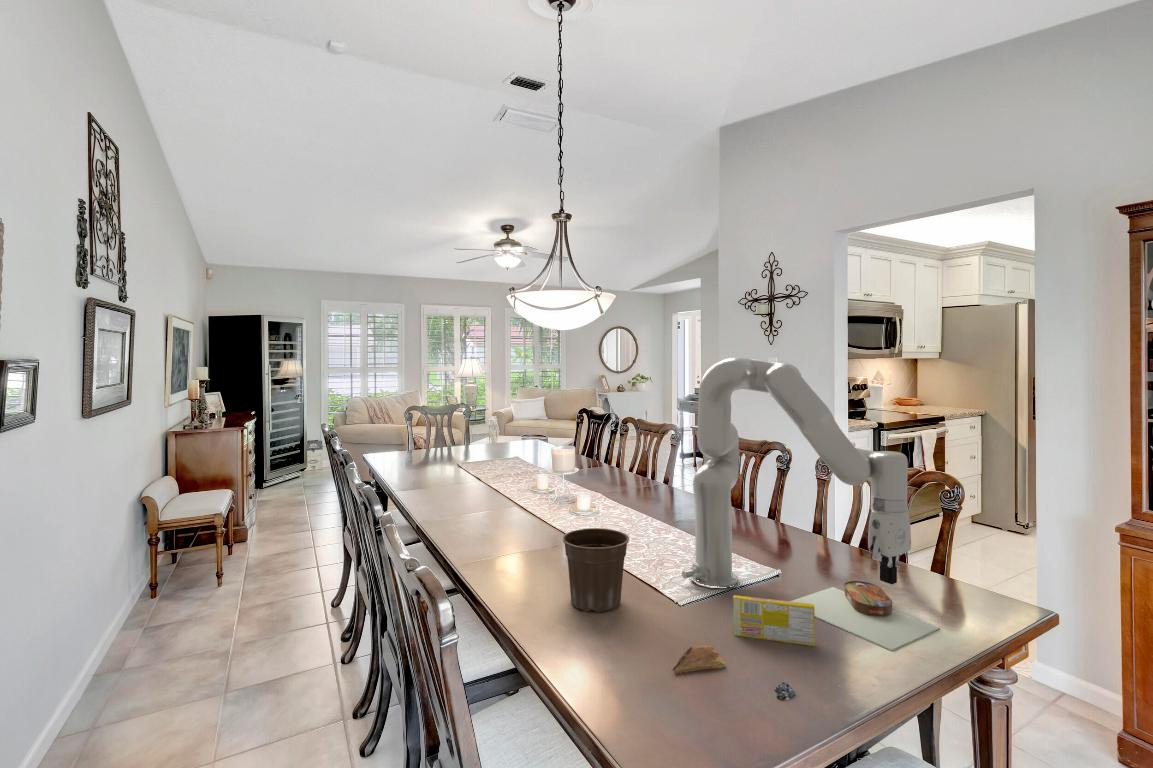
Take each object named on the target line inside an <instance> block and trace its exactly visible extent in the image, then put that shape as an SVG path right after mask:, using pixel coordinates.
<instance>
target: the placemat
mask: <svg viewBox="0 0 1153 768" xmlns="http://www.w3.org/2000/svg"><path fill="white" fill-rule="evenodd" d="M790 602H799V603H808V604H814V606H815V618H816V619H818V620H821V621H823V622H824V623H828V624H830V625H831V626H834V627H836V628H838V627H839V628H838V629H841V630H843V631H845V632H847V631H848V633H849V634H852V635H854V636H857V637H858V638H861V639H863V640H866V641H868V642H870V643H872V644H875V645H877V646H880V647H881V648H884V649H886V650H887V651H890V652H893V651H895V650H898V649H900V648H901V647H904V646H906V645H908V644H910V643H913V642H915V641H918V640H919V639H921V638H924V637H926V636H928V635H930V634H932V633H935V632H936V630H937V631H938V629H939V630H940V629H941V627H939V626H937V625H934V624H931V623H929V622H927V621H925V620H924V621H923V620H921V619H919V618H916V617H913V616H910V615H908V614H905V613H903V612H900V611H897V610H895V609H892V613H891V614H890V615H887V616H879V615H867V614H864V613H861V612H859V611H857V610H856V609H855V608H854V607H853V606H852V604H851V603H850V602H849V600H848V599H847V597H846V596H845V590H841V589H838V588H836V587H833V586H831V587H829V588H825V589H823V590H819V591H816V592H813V593H810V594H808V595H805V596H802V597H799V598H796V599H793V600H790ZM934 631H935V632H934Z"/></svg>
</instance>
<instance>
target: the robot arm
mask: <svg viewBox="0 0 1153 768" xmlns="http://www.w3.org/2000/svg"><path fill="white" fill-rule="evenodd" d="M739 390H747V391H748V390H749V391H755V392H761V393H766V394H767V393H768V394H769V395H771V397H772V398H773V399H774V401H775V402H776V403H777V404H778V405H779V407H781V409H782V410H783V412H785V414H786V415H787V416H788V417H789V418H790V420H791V421H792V422H793V423H794V424H795V426H796V427H797V428H798V431H800V433H801V434H802V436H803V437H804V438H805V439H806V441H807V442H808V443H809V444H810V446H811V447H812V448H813V450H814V452H816V454H817V455H818V456H819V458H820V459H821V461H823V463H824V464H825V465H826V466H827V468H829V470H830V471H831V473H832V474H833V475H834V476H835V477H836V478H837V479H838V480H839V481H840V482H842V483H843V484H846V485H848V486H858V485H859V486H860V485H862V484H864V483H865V482H867V480H869V479H870V510H871V511H870V515H869V522H868V536H867V539H868V541H867V543H868V545H867V546H868V550H869V552H870V553H872V556H871V560H874V561H876V562H877V563H878V565H879V580H880V581H881V582H884V583H886V584H889V585H895V584H897V582H898V566H899V561H900V556H902V555H903V554H905V553H908V552H910V551H911V549H912V530H911V522H910V521H911V520H910V515H909V510H908V473H909V472H908V467H909V464H908V458H907V455H905V454H904V453H902V452H899V451H893V450H892V451H891V450H879V451H877V450H876V451H875V450H867V449H861V448H858V447H856V446H854V444H853V443H852V442H851V441H850V439H849V438H848V437H847V436H846V435H845V433H844V432H843V430H842V429H841V428H840V425H838V423H837V422H836V420H835V418H834V415H833V413H832V411H831V410H830V408H829V407H828V406H827V405H826V403H825V402H824V401H823V400H822V399H821V398H820V397H819V395H818V394H817V392H815V391H814V390H813V388H811V386H810V385H809V383H808V382H807V381H806V380H805V379H804V378H803V376H802V373H801V371H800V370H799V369H798V368H797V366H795V365H794V364H792V363H786V362H776V361H767V360H760V359H754V358H748V357H733V356H732V357H728V358H725V359H722V360H721V361H717V363H715V364H713V365H712V366H710V368H708V369H707V370H706V372H705V373H704V374H703V376H702V378H701V381H700V383H699V387H698V404H697V405H698V406H697V407H698V408H697V410H698V411H697V434H696V440H697V441H696V443H697V447H698V449H699V451H700V453H701V454H702V455H704V462H703V463H704V464H702V465H701V466H700V467H699V468H698V469H697V471H696V472H695V474H694V477H693V483H692V487H693V488H692V489H693V491H692V492H693V497H694V499H693V500H694V514H695V515H694V517H695V518H694V519H695V521H694V523H695V524H694V525H695V527H694V528H695V537H694V539H695V544H694V545H695V548H694V549H695V550H694V551H695V562H693V563H692V567H691V568H690V569H686V570H682V572H681V577H682V578H683V579H688V578H689V579H690V577H691V579H693V580H694V581H696V582H698V583H700V584H704V585H709V586H717V587H718V586H719V587H730V586H733V585H735V584H736V583H737V582H739V577H738V575H737V574H736V573H735V572H733V509H732V501H731V500H732V497H731V496H732V495H731V492H732V488H734V487H735V485H736V483H737V481H738V479H739V463H740V462H739V460H740V459H739V454H740V450H739V448H740V446H739V444H740V437H739V433H738V430H737V428H736V426H735V425H734V424H733V423H732V417H731V416H732V401H731V400H732V395H733V393H734V392H735V391H739ZM697 580H699V581H697ZM737 584H738V583H737ZM737 584H736V585H737ZM736 585H735V586H736ZM733 587H734V586H733ZM730 588H731V587H730Z"/></svg>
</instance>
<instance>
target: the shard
mask: <svg viewBox="0 0 1153 768" xmlns="http://www.w3.org/2000/svg"><path fill="white" fill-rule="evenodd" d="M725 667H726V663H725V661H724V659H723V657H722V656H721V655H720V654H719V653H718V651H717V650H716V649H715V648H714V646H713V645H705V646H694V647H693V646H690V647H688V649H687V650H686V652H684V654H683V655H682V656H681V657H680V658H679V660H678V661H677V663H676V664H675V666H674V667H673V668H672V671H673V672H674V674H675V673H680V674H683V673H682V672H685V673H689V672H688V671H690V672H694V671H693V670H697V671H699V670H700V671H702V670H701V669H703V670H709V668H710V670H711V668H712V669H722V668H725Z"/></svg>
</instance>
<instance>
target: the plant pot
mask: <svg viewBox="0 0 1153 768" xmlns="http://www.w3.org/2000/svg"><path fill="white" fill-rule="evenodd" d="M562 542H563V543H564V551H565V556H566V558H567V569H568V570H567V571H568V581H569V591H570V602H571V604H572V605H573V606H574V607H575V608H576V609H579V610H580V611H581V610H582V611H585V612H589V611H594V612H596V613H604V612H609V611H612V610H614V609H616V608H619V606H620V605H621V600H622V590H623V589H622V588H623V577H624V566H625V557H626V556H627V546H628V543H629V542H630V537H629V535H627V534H626V533H625V532H622V531H619V530H616V529H611V528H610V529H609V528H599V527H596V528H594V527H593V528H591V527H590V528H580V529H574V530H571V531H569V532H567V533H565V534H564V535H563V536H562Z"/></svg>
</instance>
